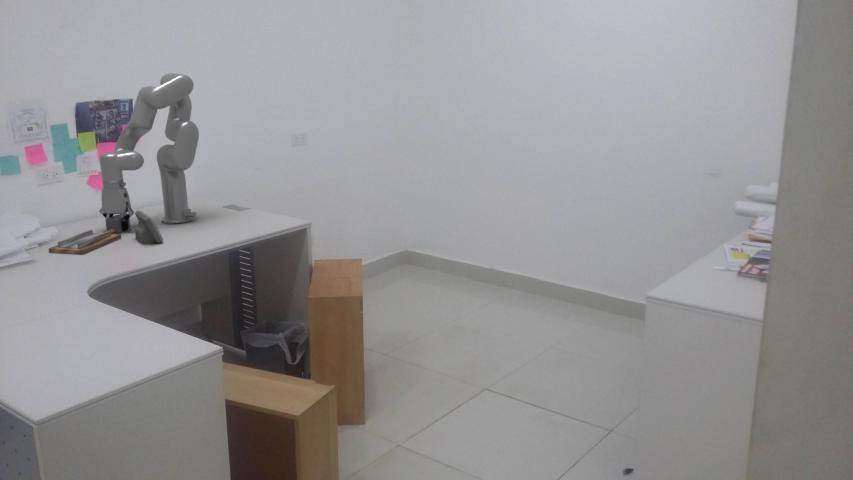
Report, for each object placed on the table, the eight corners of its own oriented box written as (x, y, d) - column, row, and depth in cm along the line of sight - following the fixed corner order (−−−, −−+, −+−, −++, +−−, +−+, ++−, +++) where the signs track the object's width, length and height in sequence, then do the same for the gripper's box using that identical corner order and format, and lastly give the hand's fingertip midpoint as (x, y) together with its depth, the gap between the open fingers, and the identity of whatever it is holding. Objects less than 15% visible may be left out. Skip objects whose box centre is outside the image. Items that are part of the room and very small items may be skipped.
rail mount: (121, 238, 280) (120, 229, 279) (83, 254, 259) (82, 245, 258) (88, 236, 283) (87, 228, 282) (49, 252, 262) (47, 243, 261)
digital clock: (164, 244, 272) (161, 216, 269) (138, 247, 268) (134, 218, 265) (159, 234, 286) (157, 207, 283) (135, 236, 282) (132, 209, 280)
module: (130, 229, 293) (129, 215, 291) (117, 235, 285) (115, 220, 283) (119, 229, 294) (117, 214, 292) (106, 234, 286) (104, 219, 284)
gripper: (138, 183, 286) (143, 228, 291) (100, 182, 290) (105, 227, 295) (127, 187, 279) (132, 233, 284) (87, 186, 283) (93, 231, 288)
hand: (118, 229), depth 289 cm, fingers closed on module, 5 cm apart
